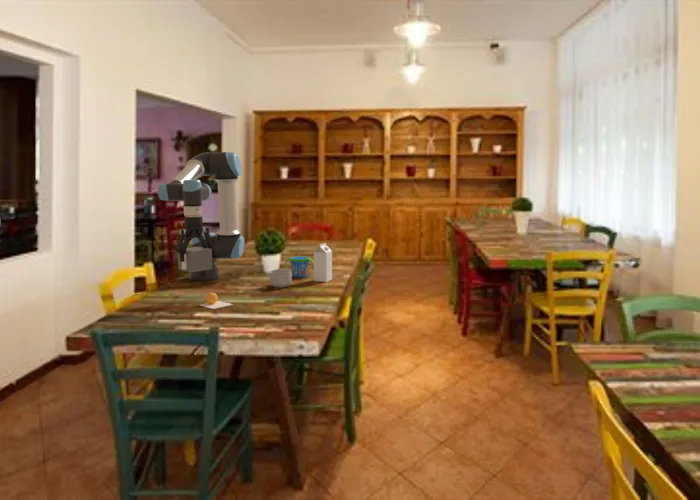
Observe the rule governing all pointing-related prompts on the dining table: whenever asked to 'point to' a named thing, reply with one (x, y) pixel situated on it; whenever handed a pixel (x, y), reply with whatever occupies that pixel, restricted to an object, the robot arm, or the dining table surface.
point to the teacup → (280, 277)
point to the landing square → (216, 305)
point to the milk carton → (323, 263)
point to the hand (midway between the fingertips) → (195, 267)
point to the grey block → (197, 259)
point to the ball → (211, 298)
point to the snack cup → (299, 265)
